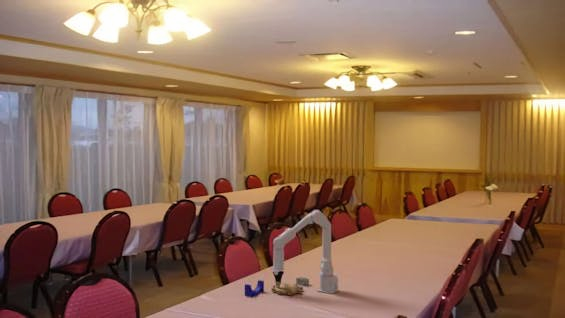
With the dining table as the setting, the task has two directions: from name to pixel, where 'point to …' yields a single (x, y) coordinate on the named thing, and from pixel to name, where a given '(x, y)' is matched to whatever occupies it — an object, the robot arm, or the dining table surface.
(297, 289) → the sprocket wheel
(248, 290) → the cable clip
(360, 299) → the dining table surface
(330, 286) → the robot arm
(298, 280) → the link block
